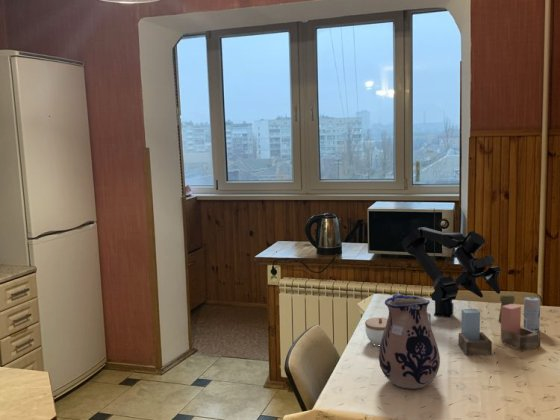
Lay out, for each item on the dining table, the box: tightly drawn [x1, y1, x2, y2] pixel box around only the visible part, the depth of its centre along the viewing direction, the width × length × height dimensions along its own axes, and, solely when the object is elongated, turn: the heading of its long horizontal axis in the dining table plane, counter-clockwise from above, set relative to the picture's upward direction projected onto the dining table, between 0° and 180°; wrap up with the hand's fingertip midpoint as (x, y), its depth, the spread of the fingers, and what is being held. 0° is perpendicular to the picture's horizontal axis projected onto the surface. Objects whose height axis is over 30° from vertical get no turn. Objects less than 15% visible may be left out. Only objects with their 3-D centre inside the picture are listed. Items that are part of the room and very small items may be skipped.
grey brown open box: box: [457, 331, 493, 357], centre depth 186 cm, size 9×8×4 cm
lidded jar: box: [364, 317, 388, 346], centre depth 195 cm, size 11×11×9 cm
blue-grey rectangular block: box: [460, 308, 481, 341], centre depth 190 cm, size 4×5×12 cm
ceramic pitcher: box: [378, 292, 441, 390], centre depth 163 cm, size 18×21×25 cm
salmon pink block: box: [500, 303, 522, 340], centre depth 193 cm, size 4×5×12 cm
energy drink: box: [523, 296, 541, 332], centre depth 202 cm, size 5×5×12 cm
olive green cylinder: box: [498, 293, 516, 324], centre depth 212 cm, size 6×6×11 cm
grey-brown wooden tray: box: [501, 325, 542, 352], centre depth 189 cm, size 9×8×4 cm
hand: (490, 295), depth 201 cm, fingers open, 8 cm apart
